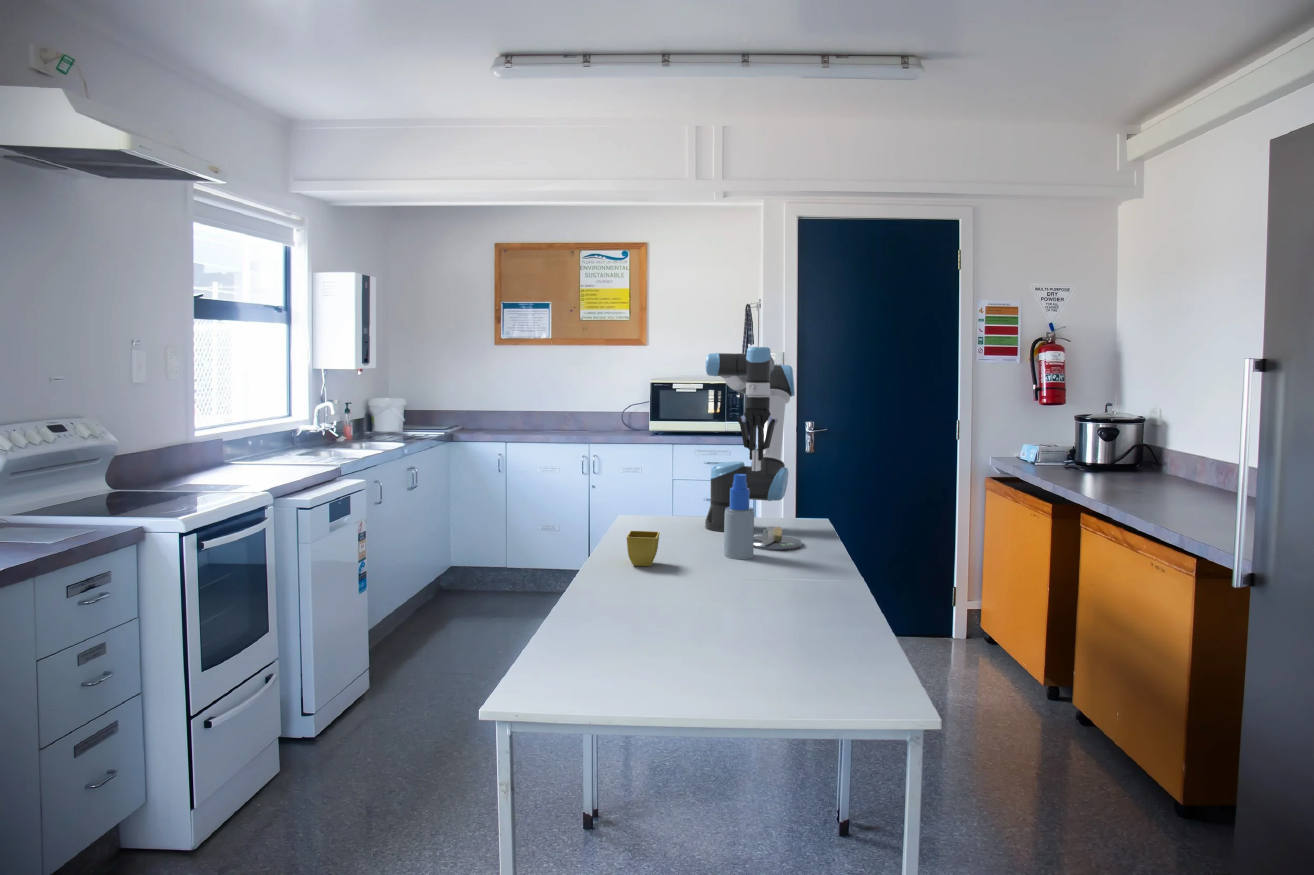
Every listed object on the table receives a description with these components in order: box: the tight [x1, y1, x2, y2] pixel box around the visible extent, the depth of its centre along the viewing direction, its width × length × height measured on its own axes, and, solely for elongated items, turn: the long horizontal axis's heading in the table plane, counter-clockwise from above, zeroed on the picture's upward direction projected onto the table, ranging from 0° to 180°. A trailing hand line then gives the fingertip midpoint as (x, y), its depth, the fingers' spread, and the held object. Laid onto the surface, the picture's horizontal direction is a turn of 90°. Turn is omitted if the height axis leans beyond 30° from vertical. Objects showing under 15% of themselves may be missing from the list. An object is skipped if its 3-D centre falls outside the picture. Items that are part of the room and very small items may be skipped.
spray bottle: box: [723, 474, 755, 560], centre depth 245 cm, size 9×9×25 cm
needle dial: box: [762, 525, 783, 544], centre depth 258 cm, size 11×4×5 cm, turn 151°
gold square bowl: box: [626, 530, 661, 567], centre depth 234 cm, size 9×9×9 cm
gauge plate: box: [753, 534, 802, 552], centre depth 261 cm, size 17×17×1 cm
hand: (756, 470), depth 256 cm, fingers closed
